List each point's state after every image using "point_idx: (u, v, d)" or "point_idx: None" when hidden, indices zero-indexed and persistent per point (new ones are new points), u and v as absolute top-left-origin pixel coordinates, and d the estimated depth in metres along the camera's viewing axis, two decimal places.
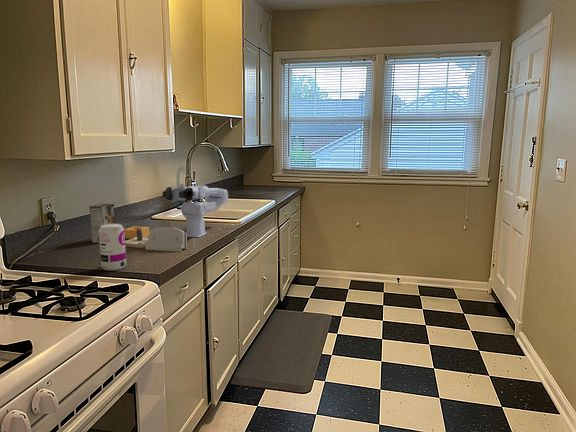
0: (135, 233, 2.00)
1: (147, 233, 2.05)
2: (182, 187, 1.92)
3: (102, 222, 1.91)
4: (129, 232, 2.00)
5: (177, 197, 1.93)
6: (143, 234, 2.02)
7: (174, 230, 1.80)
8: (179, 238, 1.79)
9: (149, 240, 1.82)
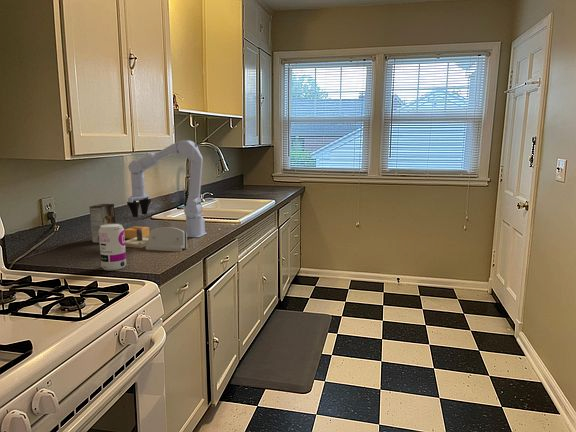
0: (135, 233, 2.00)
1: (147, 233, 2.05)
2: None
3: (102, 222, 1.91)
4: (129, 232, 2.00)
5: None
6: (143, 234, 2.02)
7: (174, 230, 1.80)
8: (179, 238, 1.79)
9: (149, 240, 1.82)
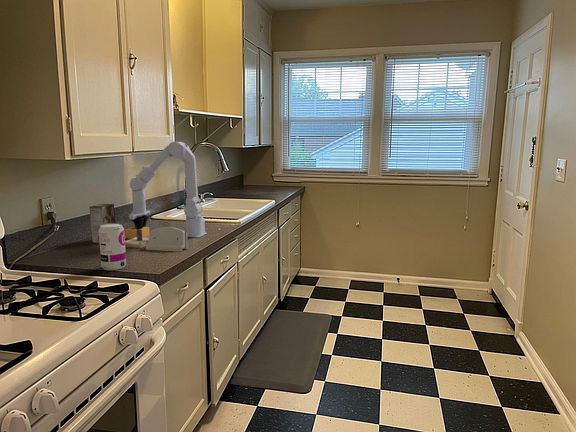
0: (135, 233, 2.00)
1: (147, 233, 2.05)
2: None
3: (102, 222, 1.91)
4: (129, 232, 2.00)
5: (145, 213, 2.07)
6: (143, 234, 2.02)
7: (175, 230, 1.80)
8: (180, 238, 1.79)
9: (150, 240, 1.82)
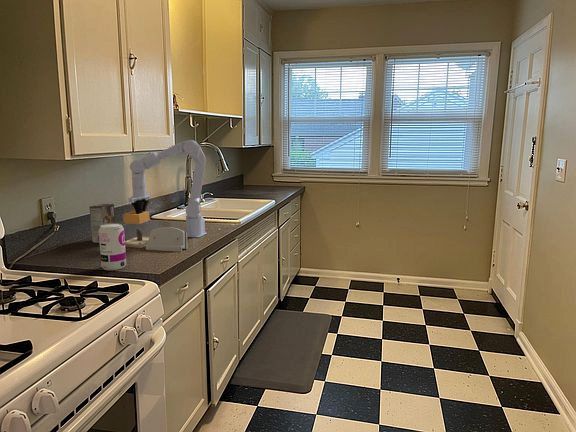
0: (134, 218, 1.94)
1: (147, 218, 1.99)
2: None
3: (102, 222, 1.91)
4: (128, 217, 1.94)
5: (145, 197, 2.01)
6: (143, 219, 1.96)
7: (174, 230, 1.80)
8: (179, 238, 1.79)
9: (150, 240, 1.82)
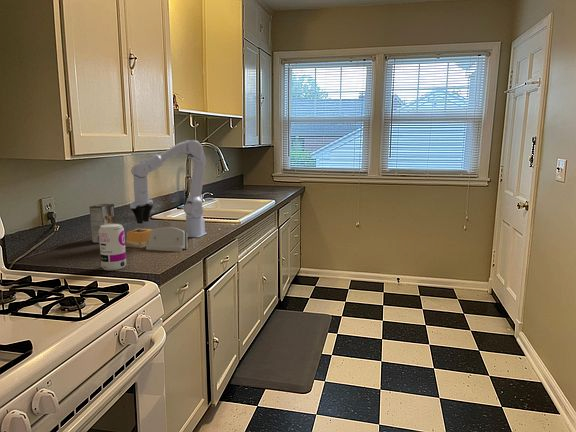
0: (138, 236, 1.86)
1: None
2: None
3: (102, 222, 1.91)
4: (132, 235, 1.87)
5: (147, 202, 1.92)
6: (147, 237, 1.89)
7: (175, 230, 1.80)
8: (180, 238, 1.79)
9: (150, 240, 1.82)
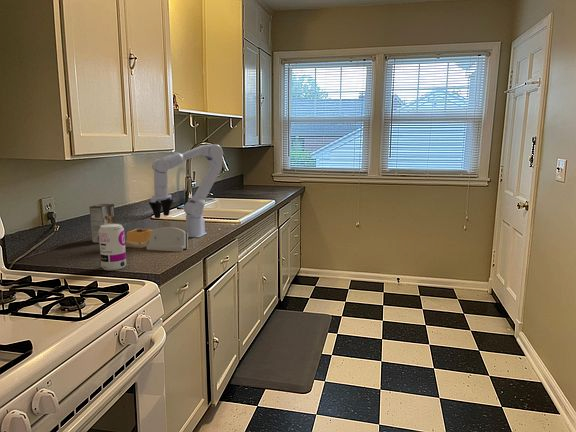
0: (138, 236, 1.86)
1: None
2: None
3: (102, 222, 1.91)
4: (132, 235, 1.87)
5: (167, 197, 1.97)
6: (147, 237, 1.89)
7: (175, 230, 1.80)
8: (180, 238, 1.79)
9: (150, 240, 1.82)
